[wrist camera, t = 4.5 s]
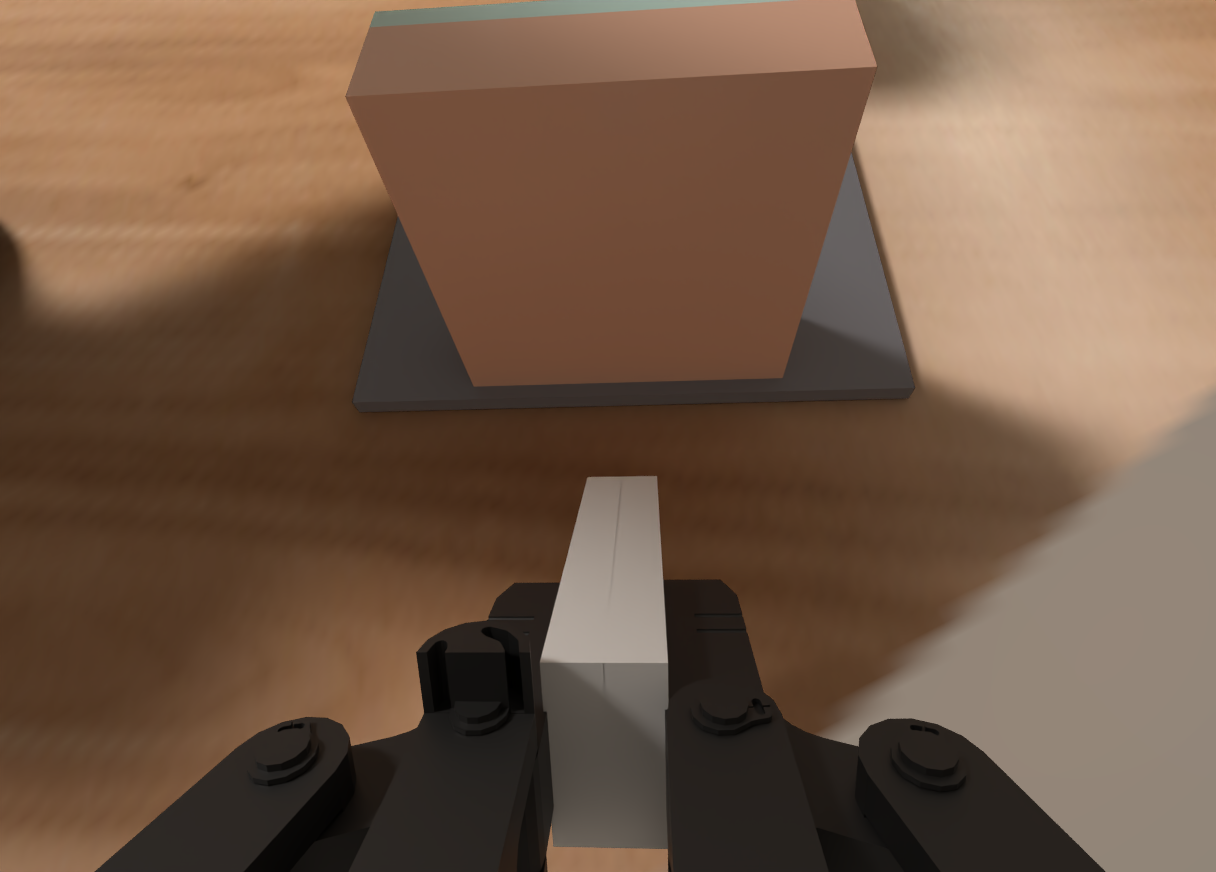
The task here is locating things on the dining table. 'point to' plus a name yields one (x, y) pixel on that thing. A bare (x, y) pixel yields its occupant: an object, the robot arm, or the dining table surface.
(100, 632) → the dining table surface
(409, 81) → the tile
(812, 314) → the mat
